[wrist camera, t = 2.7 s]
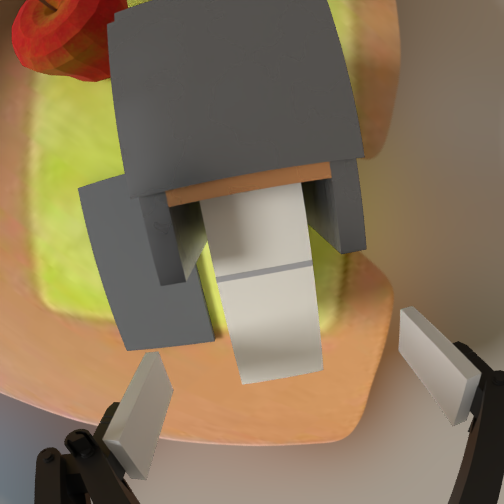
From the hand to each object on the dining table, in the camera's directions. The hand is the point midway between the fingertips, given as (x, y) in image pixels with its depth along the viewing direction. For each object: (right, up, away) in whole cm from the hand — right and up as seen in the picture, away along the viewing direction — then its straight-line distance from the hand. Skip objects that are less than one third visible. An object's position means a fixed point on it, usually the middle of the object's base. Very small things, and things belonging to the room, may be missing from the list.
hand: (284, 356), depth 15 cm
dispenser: (-3, +14, +8) cm, 17 cm away
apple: (-14, +23, +6) cm, 28 cm away
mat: (-11, +4, +11) cm, 16 cm away
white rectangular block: (-1, +7, +10) cm, 12 cm away
